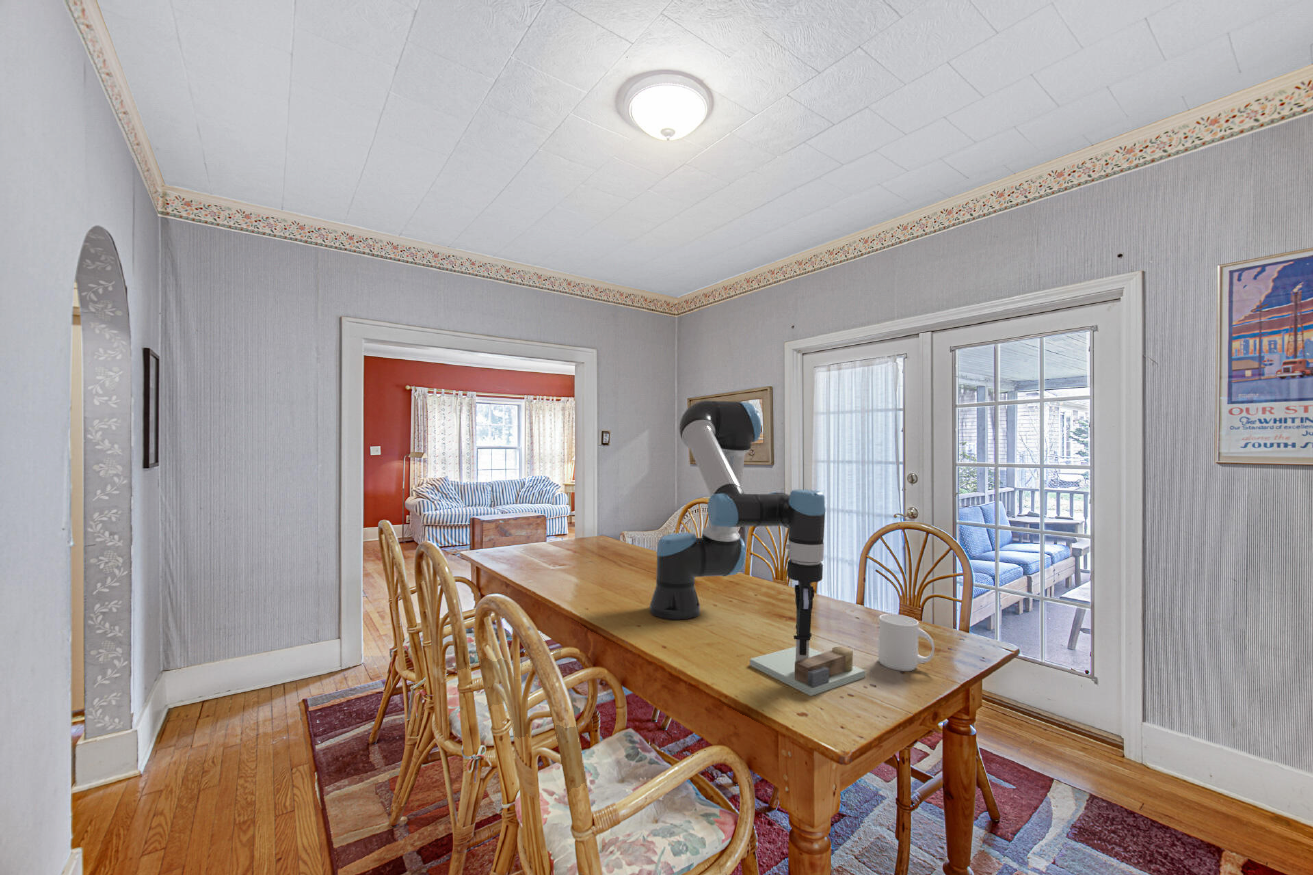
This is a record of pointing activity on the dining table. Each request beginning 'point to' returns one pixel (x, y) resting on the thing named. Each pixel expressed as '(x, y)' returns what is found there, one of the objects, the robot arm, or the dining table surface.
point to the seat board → (784, 670)
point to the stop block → (818, 677)
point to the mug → (900, 642)
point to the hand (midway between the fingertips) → (801, 667)
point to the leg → (825, 663)
